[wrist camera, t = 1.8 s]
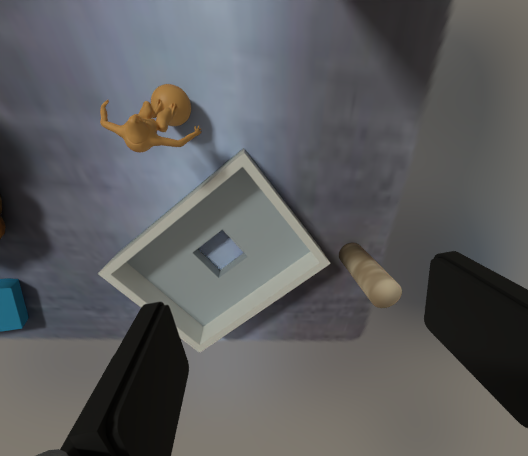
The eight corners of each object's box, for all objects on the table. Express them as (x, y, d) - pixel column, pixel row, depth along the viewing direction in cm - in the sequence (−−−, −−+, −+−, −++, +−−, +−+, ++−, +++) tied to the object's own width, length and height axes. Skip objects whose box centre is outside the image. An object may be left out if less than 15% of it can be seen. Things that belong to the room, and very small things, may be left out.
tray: (243, 148, 31) (244, 152, 26) (318, 244, 36) (330, 263, 31) (118, 251, 34) (97, 273, 29) (204, 324, 40) (199, 352, 35)
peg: (355, 238, 37) (393, 275, 27) (366, 254, 38) (407, 296, 29) (334, 252, 37) (365, 293, 28) (346, 268, 38) (379, 313, 29)
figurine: (216, 99, 28) (199, 82, 17) (206, 152, 30) (186, 168, 19) (139, 75, 27) (68, 41, 16) (134, 133, 29) (68, 138, 18)
